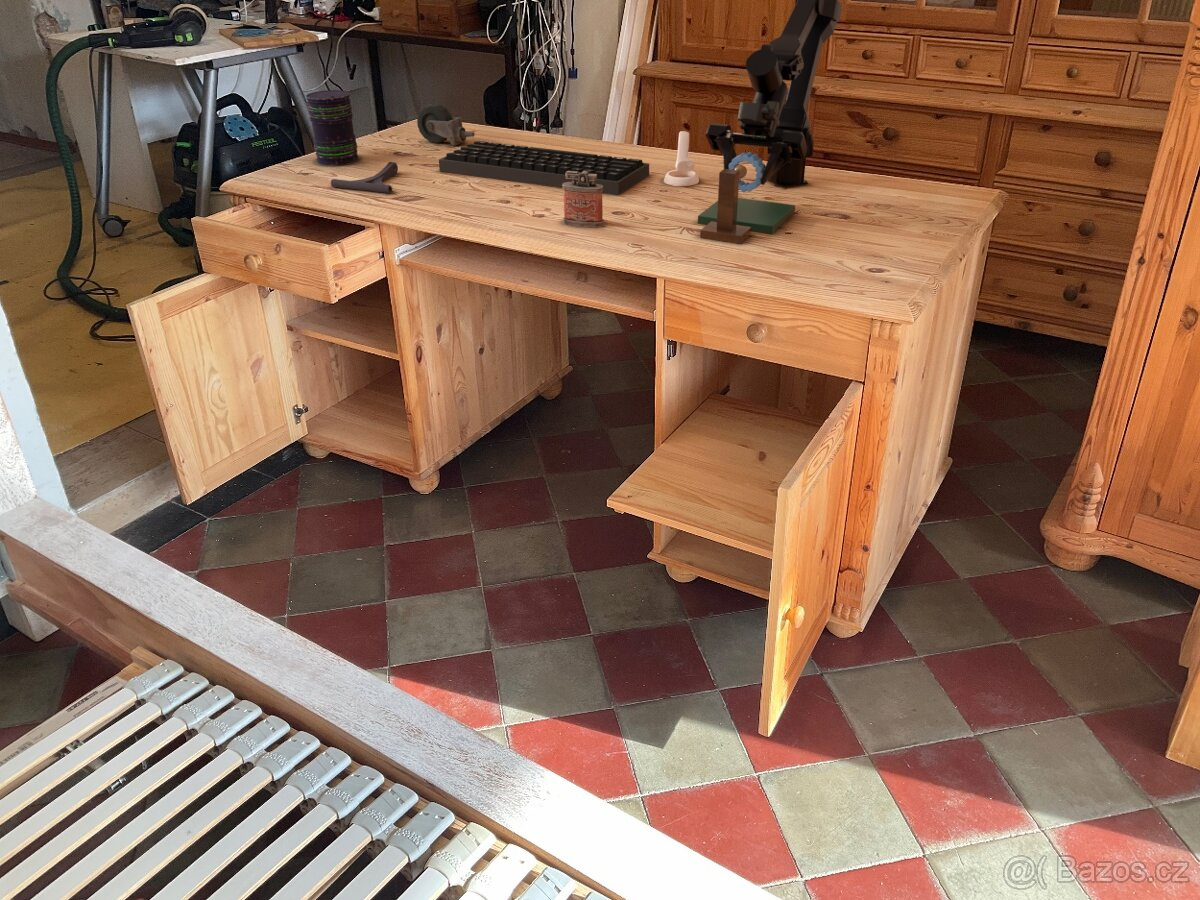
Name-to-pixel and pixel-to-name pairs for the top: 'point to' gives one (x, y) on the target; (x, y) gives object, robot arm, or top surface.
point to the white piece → (682, 165)
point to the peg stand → (727, 209)
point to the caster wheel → (441, 125)
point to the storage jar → (332, 127)
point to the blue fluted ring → (756, 163)
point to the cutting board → (754, 214)
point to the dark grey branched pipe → (370, 181)
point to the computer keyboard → (542, 165)
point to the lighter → (582, 200)
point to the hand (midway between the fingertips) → (743, 181)
